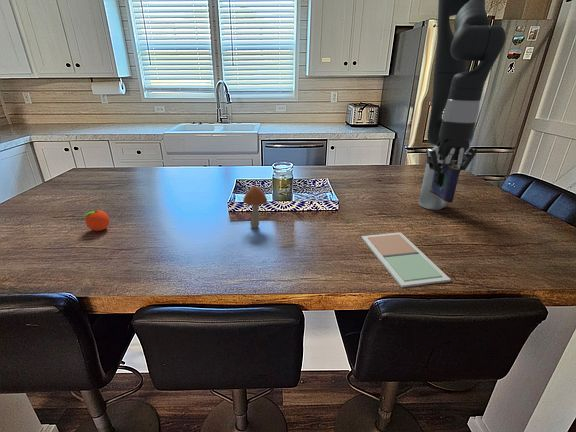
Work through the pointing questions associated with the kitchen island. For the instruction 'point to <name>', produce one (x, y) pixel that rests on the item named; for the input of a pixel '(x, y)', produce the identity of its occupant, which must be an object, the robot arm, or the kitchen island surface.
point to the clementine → (97, 220)
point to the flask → (446, 183)
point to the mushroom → (255, 203)
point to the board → (404, 260)
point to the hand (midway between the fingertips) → (443, 185)
